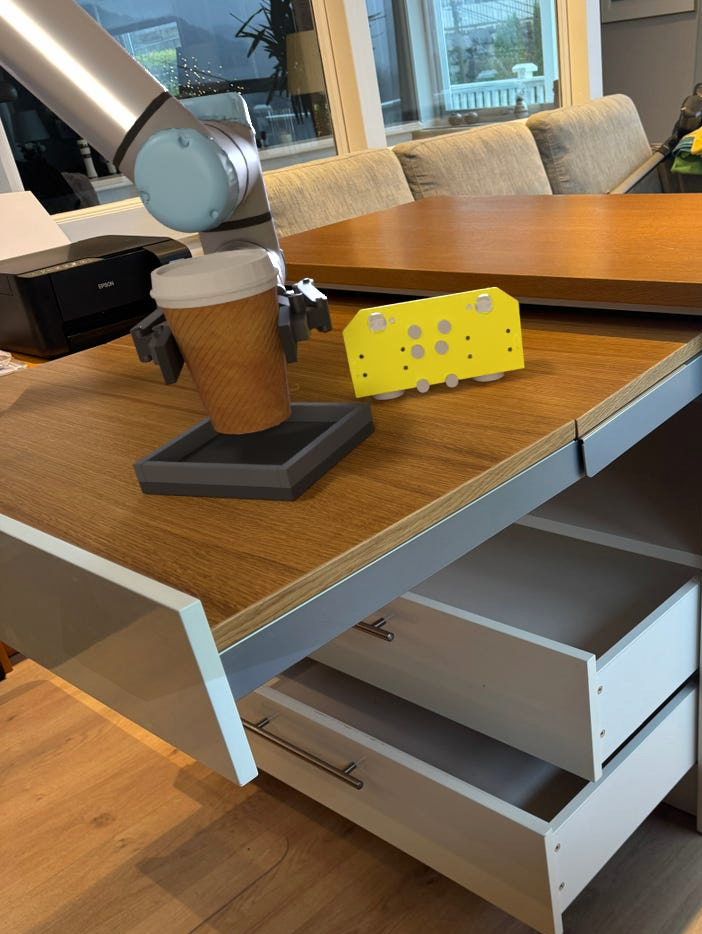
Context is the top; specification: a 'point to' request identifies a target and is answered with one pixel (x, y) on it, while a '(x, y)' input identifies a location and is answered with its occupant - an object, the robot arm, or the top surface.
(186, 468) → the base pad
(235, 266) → the disposable coffee cup
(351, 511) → the top surface
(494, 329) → the yellow toy chassis
